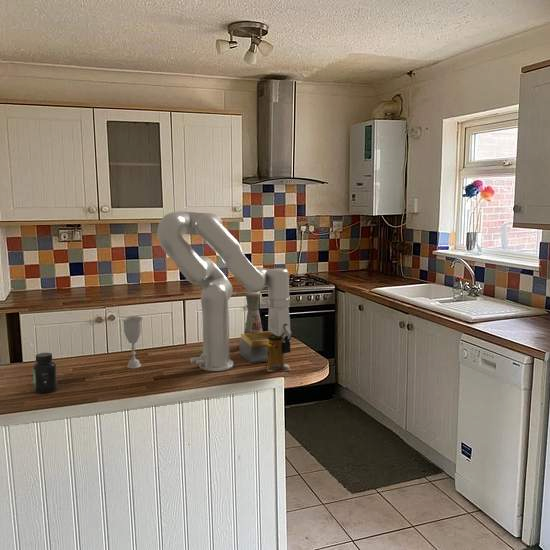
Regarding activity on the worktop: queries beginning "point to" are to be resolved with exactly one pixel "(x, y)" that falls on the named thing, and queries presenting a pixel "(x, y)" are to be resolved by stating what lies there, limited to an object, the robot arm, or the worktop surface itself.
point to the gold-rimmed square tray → (255, 346)
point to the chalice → (132, 336)
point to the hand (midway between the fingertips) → (280, 349)
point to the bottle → (253, 313)
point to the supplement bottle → (44, 374)
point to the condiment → (276, 355)
